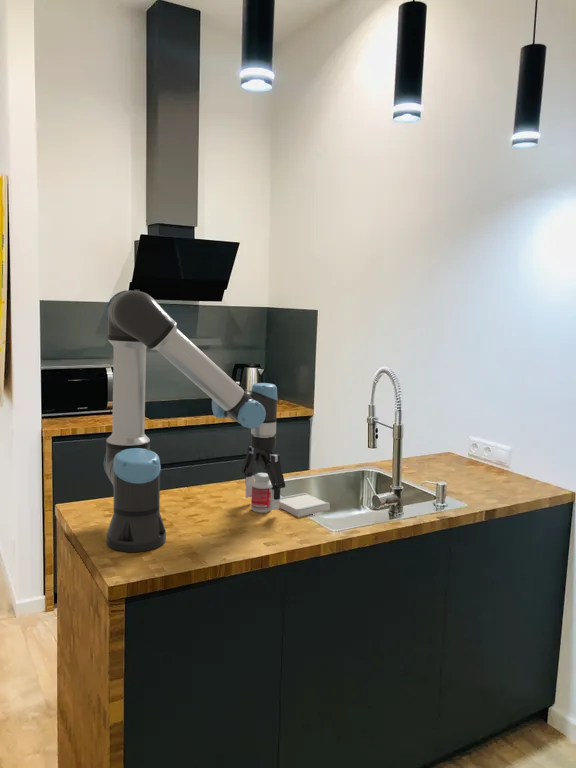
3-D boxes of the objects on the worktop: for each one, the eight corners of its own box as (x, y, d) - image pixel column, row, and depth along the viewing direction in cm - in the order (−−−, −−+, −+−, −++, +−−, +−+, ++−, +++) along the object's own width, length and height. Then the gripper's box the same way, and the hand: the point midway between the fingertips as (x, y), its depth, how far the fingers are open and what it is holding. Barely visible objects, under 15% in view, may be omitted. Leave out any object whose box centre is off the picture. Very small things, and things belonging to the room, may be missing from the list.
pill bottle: (272, 513, 191) (273, 477, 190) (251, 513, 191) (253, 477, 189) (270, 506, 198) (271, 471, 196) (250, 506, 197) (251, 471, 195)
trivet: (298, 517, 189) (298, 509, 189) (275, 505, 198) (275, 498, 198) (329, 510, 196) (329, 503, 196) (305, 499, 206) (305, 492, 205)
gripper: (298, 441, 183) (296, 512, 186) (251, 425, 203) (249, 490, 206) (277, 444, 179) (275, 517, 182) (231, 428, 199) (230, 493, 202)
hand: (261, 503), depth 194 cm, fingers open, 13 cm apart
